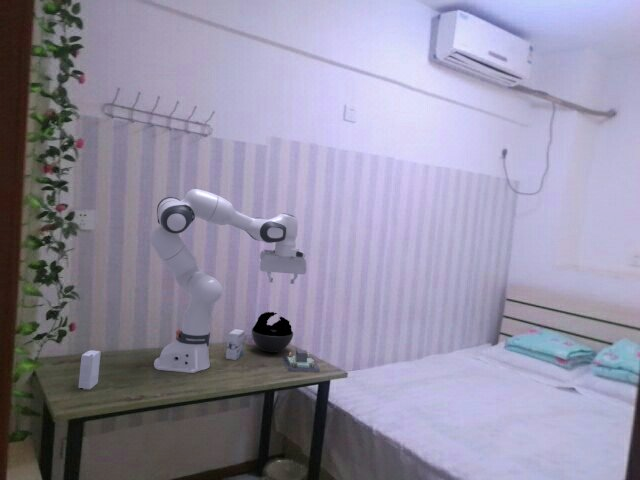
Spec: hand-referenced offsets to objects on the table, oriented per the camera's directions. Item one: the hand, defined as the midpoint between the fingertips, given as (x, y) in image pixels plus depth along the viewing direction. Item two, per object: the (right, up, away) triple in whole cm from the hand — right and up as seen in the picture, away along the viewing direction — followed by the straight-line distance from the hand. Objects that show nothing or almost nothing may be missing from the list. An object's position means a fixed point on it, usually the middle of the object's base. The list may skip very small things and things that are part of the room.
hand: (281, 282), depth 212 cm
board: (+8, -36, +7) cm, 38 cm away
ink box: (-22, -35, +9) cm, 42 cm away
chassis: (+8, -38, +8) cm, 39 cm away
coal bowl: (-7, -35, +24) cm, 43 cm away
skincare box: (-65, -33, -40) cm, 83 cm away
